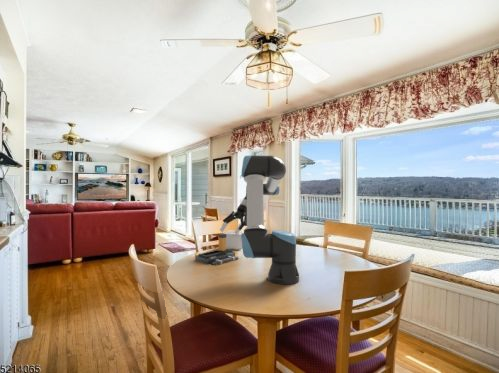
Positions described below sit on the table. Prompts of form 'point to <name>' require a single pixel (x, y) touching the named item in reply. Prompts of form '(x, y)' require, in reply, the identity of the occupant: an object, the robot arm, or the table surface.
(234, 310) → the table surface
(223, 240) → the breaker toggle
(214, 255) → the breaker panel
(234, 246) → the cable organizer
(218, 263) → the cord bundle
